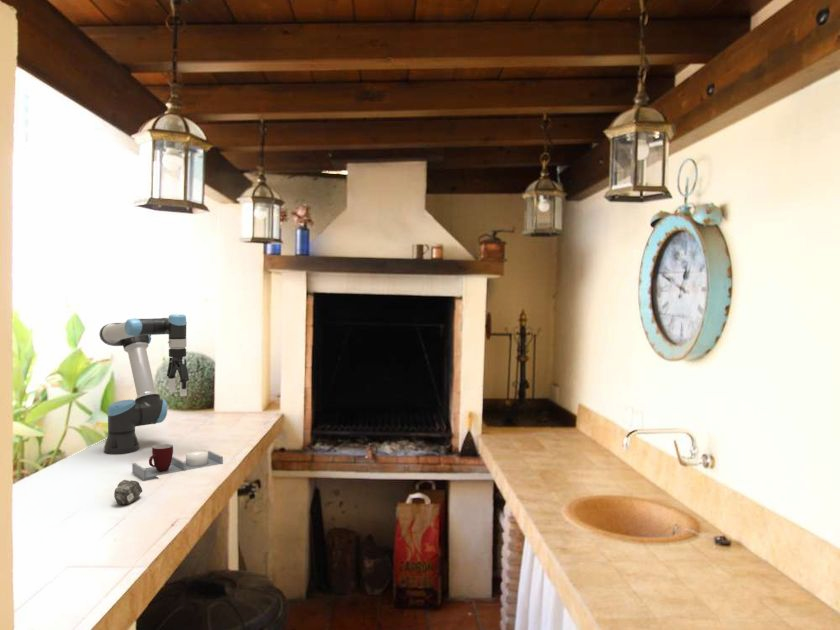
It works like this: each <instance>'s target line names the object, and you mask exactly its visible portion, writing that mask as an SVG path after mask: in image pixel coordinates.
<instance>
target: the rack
mask: <svg viewBox="0 0 840 630" xmlns="http://www.w3.org/2000/svg"><path fill="white" fill-rule="evenodd" d="M207 451H208V464H206V465H203V466H187V465H186V460H185V461H183V460H181V459H179V458H177V457H176V456H172V461H171V465H170V467H169V469H168V470H167V471H162V472H160V471H157V469H156V467H152V466H150V467H146V468H145V467H143V466H141V465H139V464H137V463H136V462H132V463H131V464H132V465H131V466H132V471H131V472H132V474H133V475H134V476H136V477H137V478H139V479H140V480H142V481H144V482H146V481H150V480H151V481H152V480H156V479H159V477H158V476H163V475H167V474H173V473H174V474H175V473H179V472H183V471H184V472H185V471H190V470H195V469H201V468H205V467H212V466H218V465H223V463H224V456H223V455H220V454H218V453H216V452H213V451H212V450H207Z"/></svg>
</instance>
